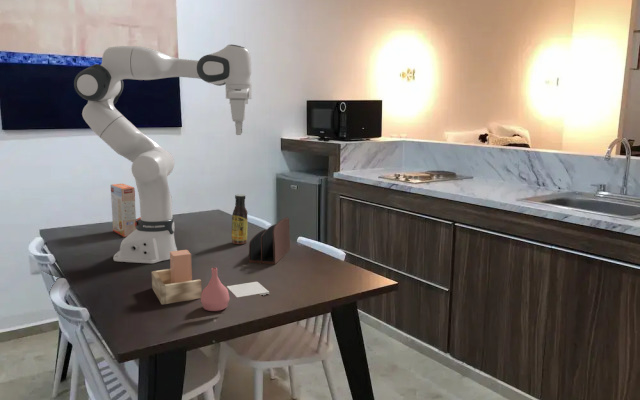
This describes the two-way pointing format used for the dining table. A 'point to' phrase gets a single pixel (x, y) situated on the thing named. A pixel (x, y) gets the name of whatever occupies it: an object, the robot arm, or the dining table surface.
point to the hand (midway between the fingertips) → (239, 134)
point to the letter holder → (270, 244)
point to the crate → (174, 288)
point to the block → (180, 266)
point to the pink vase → (215, 294)
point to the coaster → (248, 289)
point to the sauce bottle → (239, 221)
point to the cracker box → (123, 209)
